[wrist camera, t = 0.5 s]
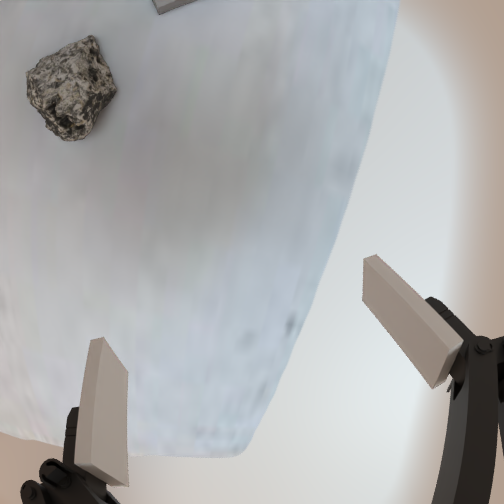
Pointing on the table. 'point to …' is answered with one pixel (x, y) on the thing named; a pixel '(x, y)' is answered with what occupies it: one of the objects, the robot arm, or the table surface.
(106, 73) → the rock
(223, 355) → the table surface
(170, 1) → the grey socket tray
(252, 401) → the table surface
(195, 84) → the table surface
